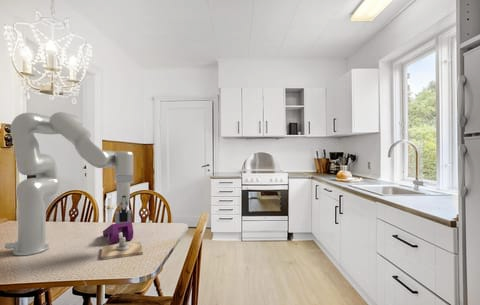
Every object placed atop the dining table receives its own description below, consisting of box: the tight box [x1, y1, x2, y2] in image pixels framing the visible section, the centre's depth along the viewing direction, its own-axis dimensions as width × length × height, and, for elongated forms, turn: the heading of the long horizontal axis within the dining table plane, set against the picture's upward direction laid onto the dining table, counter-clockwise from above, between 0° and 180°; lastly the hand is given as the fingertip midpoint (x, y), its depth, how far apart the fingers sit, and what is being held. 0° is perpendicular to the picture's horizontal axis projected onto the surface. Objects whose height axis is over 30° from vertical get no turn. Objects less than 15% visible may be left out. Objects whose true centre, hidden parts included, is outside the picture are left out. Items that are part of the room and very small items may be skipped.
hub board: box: [100, 236, 144, 261], centre depth 117 cm, size 16×14×6 cm
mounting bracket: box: [102, 220, 134, 245], centre depth 135 cm, size 10×8×18 cm
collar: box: [114, 209, 133, 224], centre depth 117 cm, size 6×6×4 cm
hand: (123, 219), depth 117 cm, fingers closed on collar, 6 cm apart
